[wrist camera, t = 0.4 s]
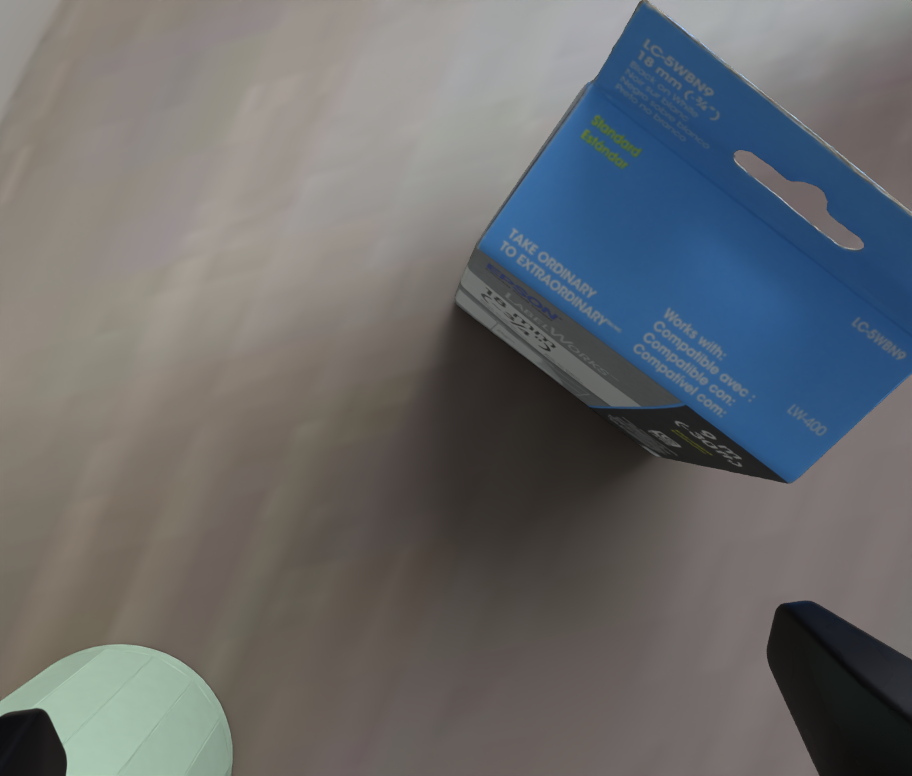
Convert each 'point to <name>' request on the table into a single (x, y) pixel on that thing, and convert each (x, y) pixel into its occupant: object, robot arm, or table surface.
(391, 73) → the table surface
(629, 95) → the blue grey retail box
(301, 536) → the table surface
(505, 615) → the table surface
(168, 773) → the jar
